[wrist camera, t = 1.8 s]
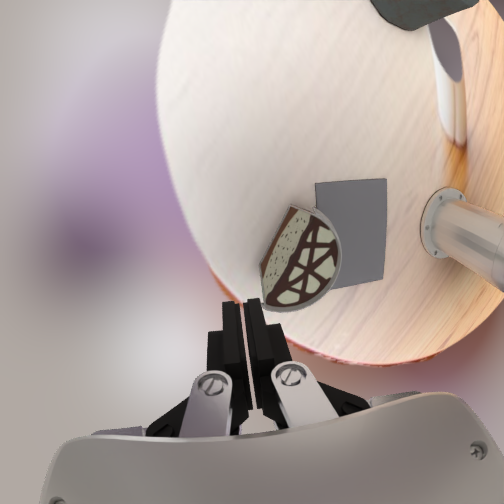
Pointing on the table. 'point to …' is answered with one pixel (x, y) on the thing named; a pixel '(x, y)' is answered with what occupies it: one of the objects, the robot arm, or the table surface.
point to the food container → (300, 261)
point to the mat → (357, 226)
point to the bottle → (419, 11)
